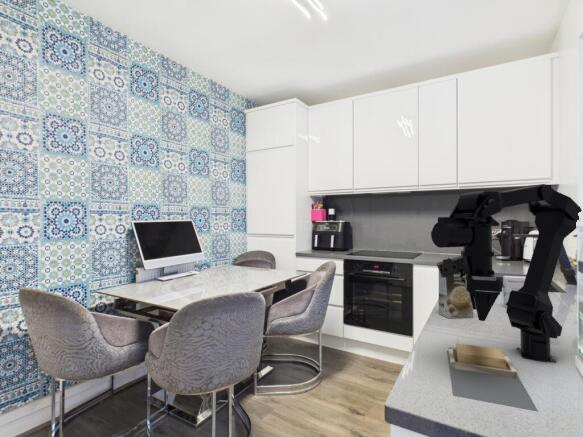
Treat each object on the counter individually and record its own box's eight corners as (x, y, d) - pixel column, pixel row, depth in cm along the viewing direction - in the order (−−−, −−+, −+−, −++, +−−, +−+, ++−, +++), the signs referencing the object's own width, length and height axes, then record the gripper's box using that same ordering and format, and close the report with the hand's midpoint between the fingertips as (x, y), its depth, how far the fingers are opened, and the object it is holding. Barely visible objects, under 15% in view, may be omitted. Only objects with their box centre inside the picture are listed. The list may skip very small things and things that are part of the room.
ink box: (530, 307, 117) (529, 276, 117) (534, 311, 113) (533, 278, 113) (502, 305, 121) (502, 275, 121) (505, 309, 116) (505, 277, 116)
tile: (500, 362, 72) (500, 348, 72) (506, 373, 67) (505, 359, 67) (456, 355, 76) (456, 343, 76) (458, 366, 70) (458, 352, 70)
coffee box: (447, 318, 106) (446, 271, 106) (438, 313, 112) (437, 268, 112) (474, 318, 106) (473, 270, 106) (463, 312, 112) (462, 268, 113)
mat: (446, 352, 79) (446, 350, 79) (508, 361, 74) (508, 358, 74) (453, 398, 59) (453, 395, 59) (538, 414, 53) (538, 411, 53)
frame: (448, 352, 78) (448, 347, 78) (507, 360, 73) (507, 355, 73) (451, 368, 69) (451, 362, 69) (517, 378, 64) (517, 372, 65)
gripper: (437, 243, 83) (438, 301, 83) (439, 248, 66) (440, 322, 66) (486, 243, 79) (487, 305, 79) (502, 250, 62) (503, 329, 61)
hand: (478, 314), depth 71 cm, fingers open, 9 cm apart
